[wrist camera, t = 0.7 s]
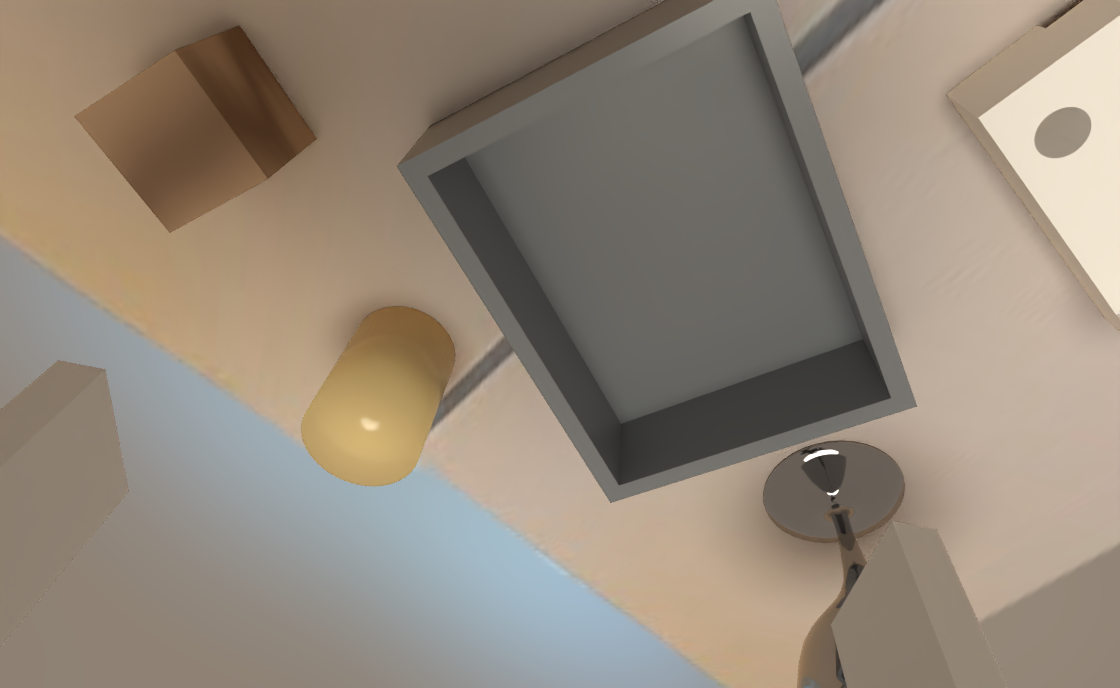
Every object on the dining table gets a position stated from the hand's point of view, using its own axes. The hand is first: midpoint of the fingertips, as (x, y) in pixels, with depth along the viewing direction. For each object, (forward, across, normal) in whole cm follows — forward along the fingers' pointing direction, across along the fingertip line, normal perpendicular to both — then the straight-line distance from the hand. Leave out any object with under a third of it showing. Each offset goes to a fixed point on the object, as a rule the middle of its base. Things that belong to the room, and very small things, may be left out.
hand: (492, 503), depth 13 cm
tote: (+21, +5, -4) cm, 22 cm away
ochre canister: (+21, -6, -12) cm, 25 cm away
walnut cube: (+21, -14, -2) cm, 26 cm away
